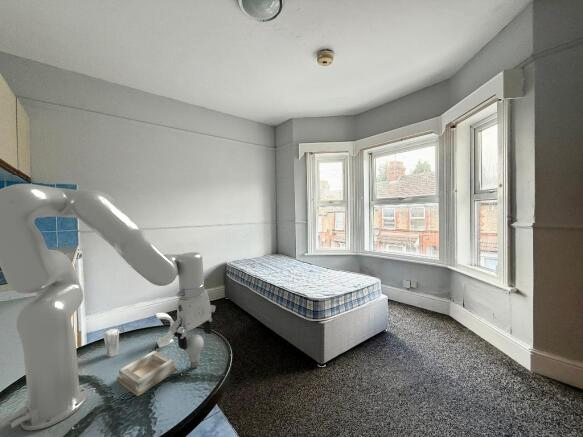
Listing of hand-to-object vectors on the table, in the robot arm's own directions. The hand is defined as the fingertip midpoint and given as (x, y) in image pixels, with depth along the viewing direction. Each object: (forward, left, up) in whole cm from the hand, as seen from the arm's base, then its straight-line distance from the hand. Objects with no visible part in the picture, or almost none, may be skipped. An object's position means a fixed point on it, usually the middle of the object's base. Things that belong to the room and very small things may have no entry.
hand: (196, 340), depth 79 cm
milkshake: (-11, +32, -9) cm, 35 cm away
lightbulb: (-1, 0, -9) cm, 9 cm away
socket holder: (-11, +10, -9) cm, 17 cm away
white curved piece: (+3, +22, -9) cm, 24 cm away
